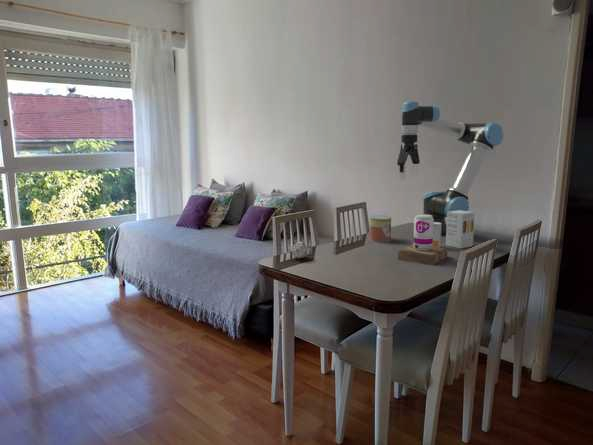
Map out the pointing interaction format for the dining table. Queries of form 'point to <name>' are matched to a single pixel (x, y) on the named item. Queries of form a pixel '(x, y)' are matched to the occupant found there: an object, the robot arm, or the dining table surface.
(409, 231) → the dining table surface
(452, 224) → the supplement box
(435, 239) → the skincare box
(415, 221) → the supplement can
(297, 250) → the game die
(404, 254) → the tray
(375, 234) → the canned food
